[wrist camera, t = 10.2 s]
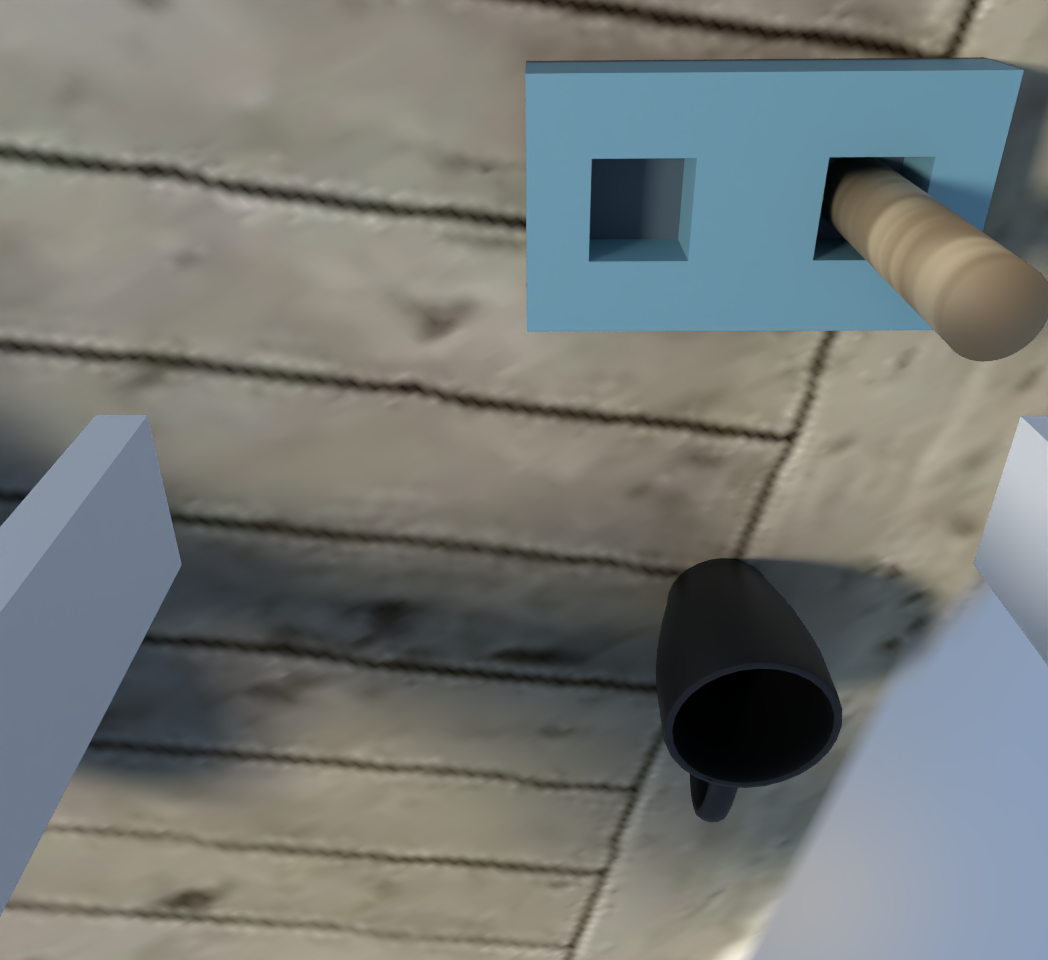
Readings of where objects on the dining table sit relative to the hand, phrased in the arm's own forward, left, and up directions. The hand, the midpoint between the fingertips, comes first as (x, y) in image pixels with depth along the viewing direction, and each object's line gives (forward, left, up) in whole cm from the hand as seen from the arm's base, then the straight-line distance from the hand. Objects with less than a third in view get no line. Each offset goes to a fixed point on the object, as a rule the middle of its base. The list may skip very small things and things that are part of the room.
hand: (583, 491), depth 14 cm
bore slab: (+8, -2, -28) cm, 29 cm away
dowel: (+12, -2, -27) cm, 30 cm away
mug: (+9, -26, -28) cm, 39 cm away
